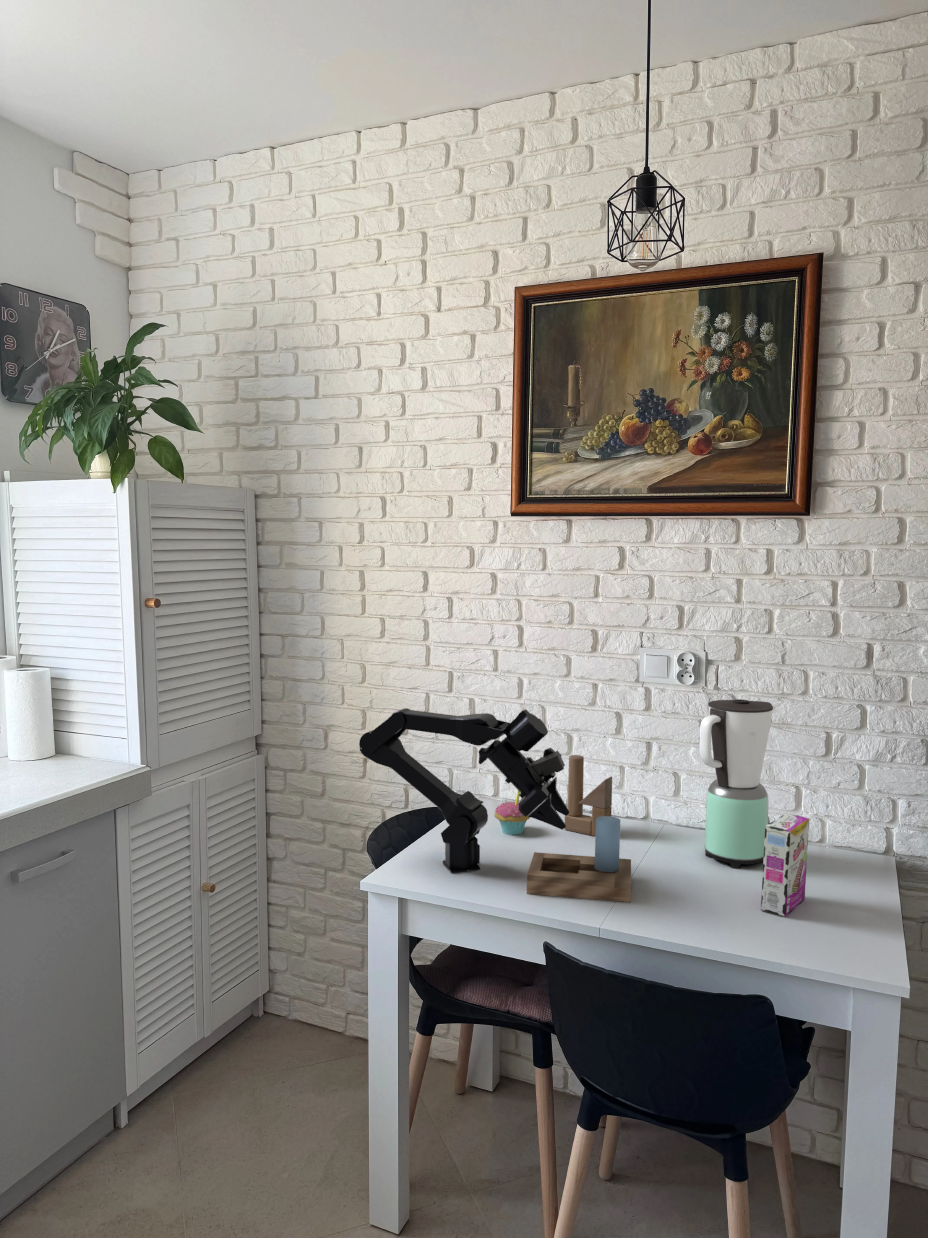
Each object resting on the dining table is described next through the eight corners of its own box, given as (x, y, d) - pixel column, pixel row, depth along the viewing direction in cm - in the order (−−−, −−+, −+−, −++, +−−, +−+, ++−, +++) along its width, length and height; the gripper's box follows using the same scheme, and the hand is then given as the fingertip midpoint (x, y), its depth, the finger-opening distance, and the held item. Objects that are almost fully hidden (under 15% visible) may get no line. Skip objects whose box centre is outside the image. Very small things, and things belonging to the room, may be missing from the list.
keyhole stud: (599, 890, 170) (601, 825, 169) (585, 879, 176) (587, 816, 175) (626, 887, 172) (629, 823, 171) (612, 876, 178) (614, 814, 177)
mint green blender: (739, 843, 201) (744, 693, 198) (786, 862, 189) (792, 702, 186) (677, 857, 192) (681, 699, 189) (723, 877, 180) (728, 710, 177)
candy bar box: (786, 918, 160) (790, 831, 159) (760, 911, 163) (763, 825, 162) (807, 900, 169) (810, 817, 167) (781, 893, 172) (784, 812, 171)
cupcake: (536, 830, 209) (537, 781, 208) (519, 840, 202) (519, 789, 201) (505, 824, 214) (505, 776, 213) (487, 833, 207) (488, 784, 206)
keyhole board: (526, 893, 171) (526, 875, 170) (534, 870, 183) (534, 852, 183) (630, 902, 167) (631, 883, 167) (630, 877, 180) (631, 859, 179)
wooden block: (604, 839, 203) (606, 763, 202) (564, 830, 209) (565, 756, 208) (611, 835, 206) (613, 760, 205) (571, 826, 212) (572, 753, 211)
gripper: (536, 749, 168) (592, 808, 167) (545, 729, 186) (597, 783, 185) (495, 786, 170) (551, 845, 169) (509, 763, 189) (559, 817, 187)
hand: (566, 821), depth 178 cm, fingers open, 9 cm apart
